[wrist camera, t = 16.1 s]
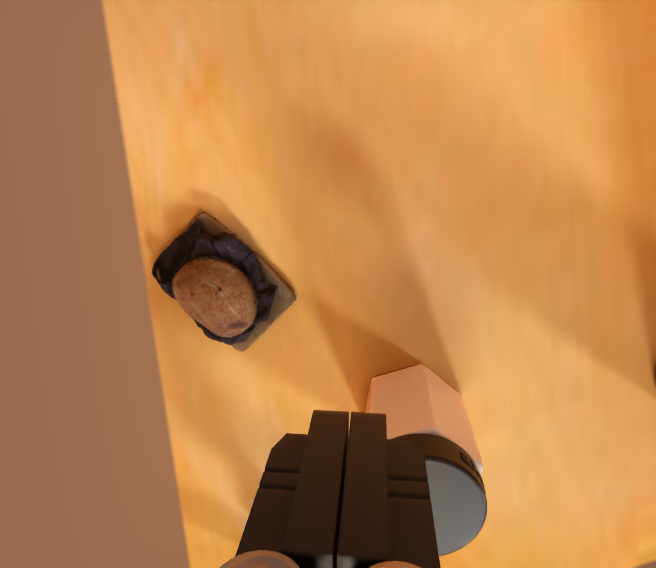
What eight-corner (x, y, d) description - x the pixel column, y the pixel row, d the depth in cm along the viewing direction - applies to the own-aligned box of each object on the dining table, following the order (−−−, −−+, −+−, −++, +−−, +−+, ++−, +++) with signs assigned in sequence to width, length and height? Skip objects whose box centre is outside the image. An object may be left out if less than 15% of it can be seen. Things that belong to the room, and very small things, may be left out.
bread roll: (303, 292, 40) (297, 308, 37) (238, 355, 43) (226, 375, 39) (207, 202, 38) (191, 209, 35) (145, 272, 41) (124, 286, 37)
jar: (445, 458, 44) (469, 574, 32) (356, 440, 44) (349, 549, 33) (470, 371, 41) (506, 465, 29) (375, 353, 41) (374, 440, 30)
